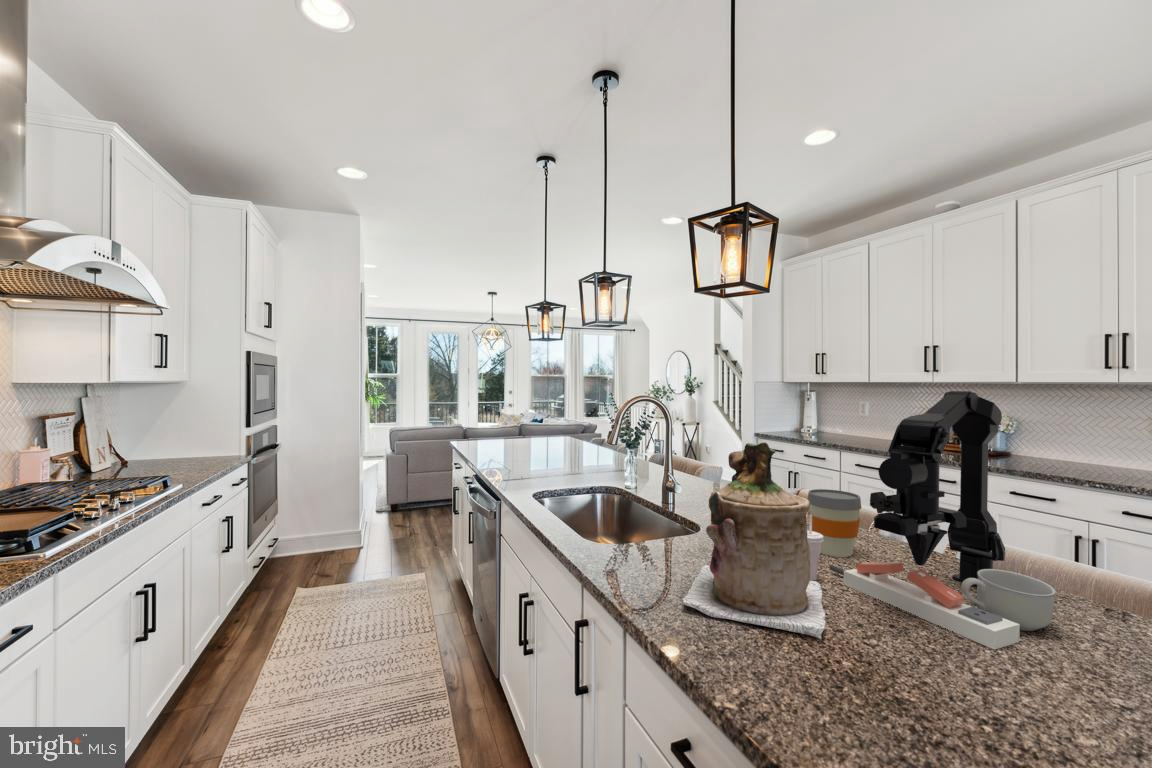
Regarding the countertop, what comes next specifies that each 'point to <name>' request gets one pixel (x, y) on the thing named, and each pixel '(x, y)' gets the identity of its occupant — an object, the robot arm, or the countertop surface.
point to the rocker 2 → (935, 588)
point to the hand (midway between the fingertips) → (919, 564)
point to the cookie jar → (758, 552)
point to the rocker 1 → (879, 567)
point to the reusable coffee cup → (835, 520)
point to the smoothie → (814, 549)
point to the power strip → (934, 608)
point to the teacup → (1013, 597)
